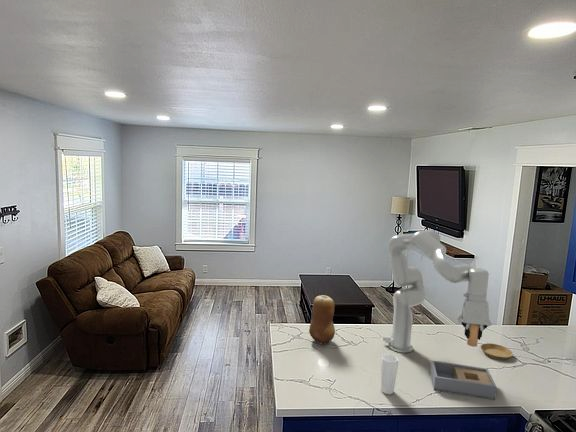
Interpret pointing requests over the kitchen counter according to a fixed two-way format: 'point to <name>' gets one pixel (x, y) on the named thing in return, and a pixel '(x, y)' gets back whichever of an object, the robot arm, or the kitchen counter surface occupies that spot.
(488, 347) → the plant saucer
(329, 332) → the butternut squash
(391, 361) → the drinking glass
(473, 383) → the box
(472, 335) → the peg
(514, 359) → the kitchen counter surface
